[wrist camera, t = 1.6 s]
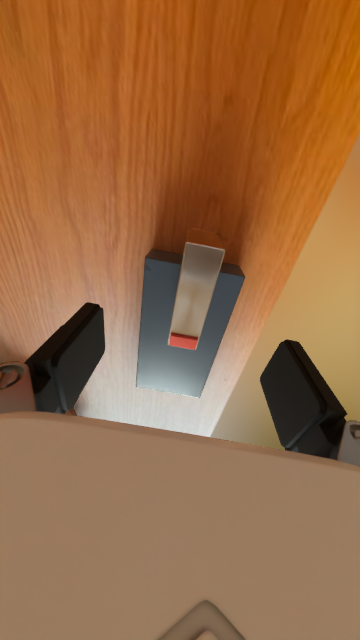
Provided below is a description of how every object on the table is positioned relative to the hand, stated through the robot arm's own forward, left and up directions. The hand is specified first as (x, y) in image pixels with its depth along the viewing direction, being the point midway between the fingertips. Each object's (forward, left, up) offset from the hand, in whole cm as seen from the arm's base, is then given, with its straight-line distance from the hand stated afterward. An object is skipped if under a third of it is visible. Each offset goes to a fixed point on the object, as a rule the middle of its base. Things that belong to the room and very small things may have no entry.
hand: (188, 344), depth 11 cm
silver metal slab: (0, 0, -9) cm, 9 cm away
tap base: (+2, +8, -12) cm, 14 cm away
